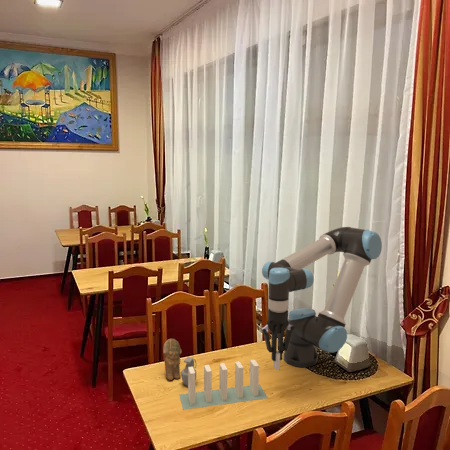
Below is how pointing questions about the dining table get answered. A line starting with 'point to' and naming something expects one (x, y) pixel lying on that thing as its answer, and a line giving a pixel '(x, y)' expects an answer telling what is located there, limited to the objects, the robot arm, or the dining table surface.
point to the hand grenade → (184, 372)
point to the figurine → (172, 358)
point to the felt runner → (217, 399)
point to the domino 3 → (223, 381)
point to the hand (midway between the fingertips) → (276, 368)
